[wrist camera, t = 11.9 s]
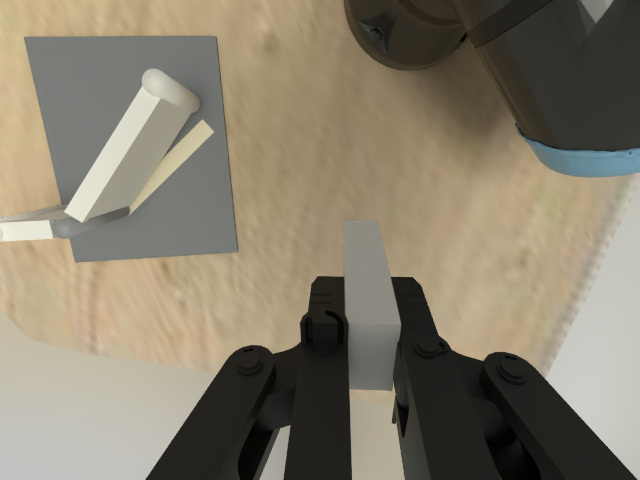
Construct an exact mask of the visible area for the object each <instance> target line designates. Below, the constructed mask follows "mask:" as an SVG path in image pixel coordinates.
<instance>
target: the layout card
mask: <svg viewBox="0 0 640 480" xmlns="http://www.w3.org/2000/svg"><path fill="white" fill-rule="evenodd" d="M24 40H25V44H26V49H27V53H28V57H29V62H30V66H31V71H32V75H33V79H34V84H35V88H36V93H37V97H38V101H39V106H40V110H41V115H42V119H43V123H44V128H45V132H46V137H47V141H48V145H49V150H50V154H51V159H52V163H53V168H54V172H55V176H56V181H57V185H58V190H59V194H60V198H61V203H62V204H69V203H70V201H71V200H72V198H73V197H74V195H75V193H76V192H77V190H78V189H79V187H80V185H81V184H82V182H83V181H84V179H85V177H86V176H87V174H88V172H89V171H90V169H91V168H92V166H93V164H94V163H95V161H96V160H97V158H98V156H99V155H100V153H101V152H102V150H103V148H104V147H105V145H106V143H107V142H108V140H109V139H110V137H111V135H112V134H113V132H114V131H115V129H116V127H117V126H118V124H119V123H120V121H121V119H122V118H123V116H124V114H125V113H126V111H127V110H128V108H129V106H130V105H131V103H132V102H133V100H134V98H135V97H136V95H137V94H138V92H139V90H140V89H141V87H142V76H143V74H144V73H145V72H146V71H147V70H149V69H158V70H160V71H162V72H163V73H165V74H166V75H168V76H169V77H170V78H172V79H173V80H175V81H176V82H178V83H179V84H180V85H182V86H183V87H185V88H186V89H188V90H189V91H190V92H192V93H193V94H195V95H196V96H197V97H198V98H199V100H200V104H201V105H200V108H199V110H198V111H197V112H195V113H191V115H190V117H189V118H188V120H187V121H186V123H185V124H184V126H183V127H182V129H181V130H180V132H179V133H178V135H177V136H176V138H175V140H174V141H173V143H172V144H171V146H170V147H169V149H168V150H167V152H166V153H165V155H164V156H163V158H162V159H161V161H160V163H159V164H158V166H157V167H156V169H155V170H154V172H153V173H152V175H151V176H150V178H149V179H148V181H147V182H146V184H145V186H144V187H143V189H142V190H141V192H140V193H139V195H138V196H137V198H136V199H135V201H134V202H133V204H132V205H130V206H129V208H130V213H129V215H128V216H125V217H123V218H120V219H117V220H115V221H112V222H109V223H107V224H104V225H101V226H99V227H96V228H94V229H91V230H88V231H86V232H83V233H80V234H78V235H75V236H72V237H70V242H71V247H72V251H73V256H74V260H75V262H91V261H107V260H123V259H138V258H154V257H170V256H186V255H202V254H218V253H234V252H238V247H237V237H236V227H235V217H234V207H233V197H232V187H231V177H230V167H229V157H228V148H227V138H226V128H225V118H224V108H223V98H222V88H221V78H220V68H219V58H218V48H217V38H216V36H123V37H24Z"/></svg>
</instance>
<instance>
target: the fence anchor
mask: <svg viewBox="0 0 640 480" xmlns="http://www.w3.org/2000/svg"><path fill="white" fill-rule="evenodd" d="M68 205H69V204H62V205H58V206H53V207H48V208H44V209H39V210H34V211H30V212H25V213H21V214H16V215H11V216H7V217H2V218H0V242H4V241H18V240H35V239H53V238H56V237H59V238H62V239H67V238H70V237H72V236H75V235H78V234H80V233H83V232H86V231H88V230H91V229H94V228H96V227H99V226H101V225H104V224H107V223H109V222H112V221H115V220H117V219H120V218H123V217H125V216H128V215H129V213H130V208H129V206H127V207H124V208H120V209H117V210H114V211H111V212H108V213H105V214H102V215H99V216H95V217H92V218H89V219H88V221H86V222H83V223H82V222H80V221H78V220H77V219H75V218H73V217H72V216H70V215H68V214H67V213H65V212H64V211H65V210H66V208H67V206H68Z"/></svg>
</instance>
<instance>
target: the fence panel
mask: <svg viewBox="0 0 640 480" xmlns="http://www.w3.org/2000/svg"><path fill="white" fill-rule="evenodd" d="M200 105H201V104H200V100H199V98H198V97H197V96H196V95H195V94H193V93H192V92H190V91H189V90H188V89H186V88H185V87H183V86H182V85H180V84H179V83H178V82H176V81H175V80H173V79H172V78H170V77H169V76H168V75H166V74H165V73H163V72H162V71H160V70H158V69H149V70H147V71H146V72H145V73H144V74H143V76H142V87H141V89H140V90H139V92H138V94H137V95H136V97H135V98H134V100H133V102H132V103H131V105H130V106H129V108H128V110H127V111H126V113H125V114H124V116H123V118H122V119H121V121H120V123H119V124H118V126H117V127H116V129H115V131H114V132H113V134H112V135H111V137H110V139H109V140H108V142H107V143H106V145H105V147H104V148H103V150H102V152H101V153H100V155H99V156H98V158H97V160H96V161H95V163H94V164H93V166H92V168H91V169H90V171H89V172H88V174H87V176H86V177H85V179H84V181H83V182H82V184H81V185H80V187H79V189H78V190H77V192H76V193H75V195H74V197H73V198H72V200H71V201H70V203H69V205H68V206H67V208H66V210H65V211H64V212H65V213H67V214H68V215H70V216H72V217H73V218H75V219H77V220H78V221H80V222H82V223H83V222H86V221H88V219H89V218H92V217H95V216H99V215H102V214H105V213H108V212H111V211H114V210H117V209H120V208H124V207H127V206H130V205H132V204H133V202H134V201H135V199H136V198H137V196H138V195H139V193H140V192H141V190H142V189H143V187H144V186H145V184H146V182H147V181H148V179H149V178H150V176H151V175H152V173H153V172H154V170H155V169H156V167H157V166H158V164H159V163H160V161H161V159H162V158H163V156H164V155H165V153H166V152H167V150H168V149H169V147H170V146H171V144H172V143H173V141H174V140H175V138H176V136H177V135H178V133H179V132H180V130H181V129H182V127H183V126H184V124H185V123H186V121H187V120H188V118H189V117H190V115H191V113H195V112H197V111H198V110H199V108H200Z"/></svg>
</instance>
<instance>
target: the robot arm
mask: <svg viewBox="0 0 640 480" xmlns="http://www.w3.org/2000/svg"><path fill="white" fill-rule="evenodd" d="M344 4H345V10H346V15H347V19H348V22H349V25H350V27H351V30H352V32H353V34H354V36H355V37H356V39H357V41H358V42H359V44H360V45H361V46H362V48H363V49H364V50H365V51H366V52H367V53H368V54H369V55H370V56H372V57H373V58H374V59H375V60H377V61H378V62H380V63H382V64H384V65H386V66H389V67H391V68H395V69H399V70H418V69H423V68H426V67H429V66H432V65H434V64H436V63H438V62H439V61H441V60H443V59H444V58H446V57H448V56H449V55H450V54H452V53H453V52H454V51H456V50H457V49H458V48H459V47H460V46H461V45H462V44H463V43H464V42H465V41H466V40H467V38H468V37H469V38H470V40H471V42H472V44H473V46H474V48H475V50H476V51H477V53H478V55H479V57H480V58H481V60H482V62H483V64H484V66H485V67H486V69H487V71H488V73H489V74H490V76H491V78H492V80H493V82H494V83H495V85H496V87H497V89H498V90H499V92H500V94H501V96H502V98H503V99H504V101H505V103H506V105H507V107H508V108H509V110H510V112H511V114H512V115H513V117H514V119H515V121H516V123H515V125H516V129H517V131H518V133H519V135H520V136H521V137H522V138H523V139H524V140H525V141H526V142H527V143H528V144H529V145H530V147H531V148H532V150H533V151H534V153H535V155H536V156H537V158H538V159H539V160H540V161H541V162H542V163H543V164H544V165H546V166H547V167H548V168H550V169H552V170H553V171H556V172H558V173H562V174H565V175H569V176H575V177H612V176H621V175H627V174H633V173H638V172H640V0H344ZM300 329H301V342H300V343H299V344H298V345H297V346H295V347H293V348H291V349H289V350H286V351H283V352H279V353H275V354H272V353H271V352H270V350H269V349H267V348H265V347H262V346H257V345H250V346H246V347H242V348H240V349H238V350H237V351H235V352H234V353H233V354H232V355H231V356H230V357H229V358H228V359H227V360H226V362H225V363H224V365H223V366H222V368H221V369H220V371H219V372H218V374H217V375H216V377H215V378H214V380H213V381H212V383H211V384H210V386H209V387H208V388H207V390H206V391H205V393H204V395H203V396H202V397H201V399H200V400H199V402H198V403H197V405H196V406H195V408H194V409H193V411H192V412H191V413H190V415H189V417H188V418H187V419H186V421H185V422H184V424H183V425H182V427H181V428H180V430H179V431H178V433H177V434H176V436H175V437H174V439H173V440H172V441H171V443H170V444H169V446H168V448H167V449H166V450H165V452H164V453H163V455H162V456H161V458H160V459H159V461H158V462H157V464H156V465H155V467H154V468H153V469H152V471H151V472H150V474H149V475H148V477H147V478H146V480H259V479H260V477H261V474H262V472H263V469H264V467H265V464H266V462H267V460H268V457H269V454H270V452H271V450H272V447H273V445H274V443H275V440H276V438H277V435H278V433H279V430H280V428H282V427H285V426H289V425H291V427H290V435H289V442H288V450H287V457H286V465H285V473H284V480H352V469H351V468H352V467H351V436H350V435H351V434H350V398H349V389H361V390H387V391H392V388H393V381H394V387H395V393H396V395H395V402H394V409H393V417H392V423H393V424H395V423H397V429H398V436H399V443H400V449H401V456H402V462H403V469H404V476H405V480H637V479H636V478H635V477H634V475H633V474H632V473H631V472H630V471H629V470H628V469H627V468H626V467H625V466H624V465H623V464H622V462H621V461H620V460H619V459H618V458H617V457H616V456H615V455H614V454H613V453H612V451H611V450H610V449H609V448H608V447H607V446H606V445H605V444H604V443H603V442H602V441H601V440H600V439H599V437H598V436H597V435H596V434H595V433H594V432H593V431H592V430H591V429H590V428H589V426H588V425H587V424H586V423H585V422H584V421H583V420H582V419H581V418H580V417H579V416H578V415H577V413H576V412H575V411H574V410H573V409H572V408H571V407H570V406H569V405H568V404H567V402H566V401H565V400H564V399H563V398H562V397H561V396H560V395H559V394H558V393H557V392H556V391H555V389H554V388H553V387H552V386H551V385H550V384H549V383H548V382H547V381H546V380H545V379H544V377H543V376H542V375H541V374H540V373H539V372H538V371H537V370H536V369H535V368H534V367H533V366H532V365H531V364H530V363H528V362H527V361H526V360H524V359H522V358H520V357H518V356H517V355H514V354H510V353H506V352H494V353H492V354H489V355H488V356H487V357H486V358H485V360H484V361H481V360H477V359H474V358H470V357H467V356H464V355H461V354H458V353H456V352H455V351H453V350H452V349H451V348H450V346H449V345H448V343H447V342H446V341H445V340H444V339H442V338H441V337H440V336H439V335H438V332H437V330H436V327H435V324H434V321H433V318H432V315H431V312H430V310H429V307H428V305H427V301H426V298H425V295H424V292H423V290H422V287H421V285H420V284H419V283H418V282H417V281H416V280H415V279H414V278H413V277H390V272H389V268H388V264H387V259H386V255H385V250H384V246H383V241H382V237H381V233H380V228H379V224H378V221H371V220H344V239H343V277H329V276H318V277H317V278H316V279H315V281H314V282H313V283H312V285H311V293H310V300H309V308H308V312H307V313H306V314H305V315H304V316H303V317H302V319H301V322H300Z"/></svg>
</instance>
